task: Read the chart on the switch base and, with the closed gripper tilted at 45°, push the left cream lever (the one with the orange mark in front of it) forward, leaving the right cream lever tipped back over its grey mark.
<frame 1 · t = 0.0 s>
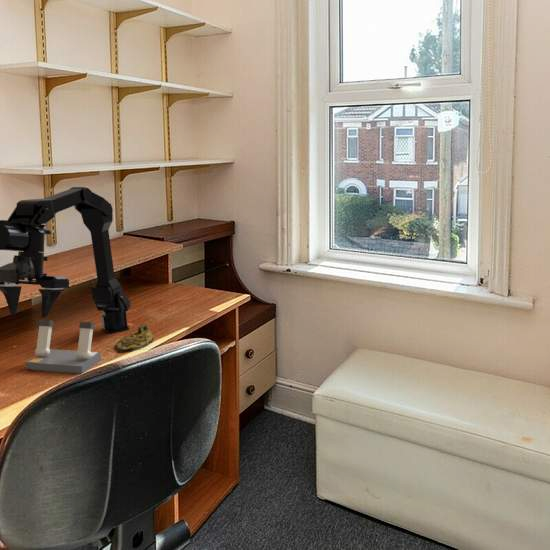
hand: (28, 316, 135), 15 cm above the table, tool pointing down, fingers open, 9 cm apart
switch base: (64, 364, 145), on the table
left lever: (44, 337, 146), point 7 cm above the table, hinge at -24.0°
right lever: (85, 340, 144), point 7 cm above the table, hinge at -24.0°
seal: (135, 344, 159), on the table
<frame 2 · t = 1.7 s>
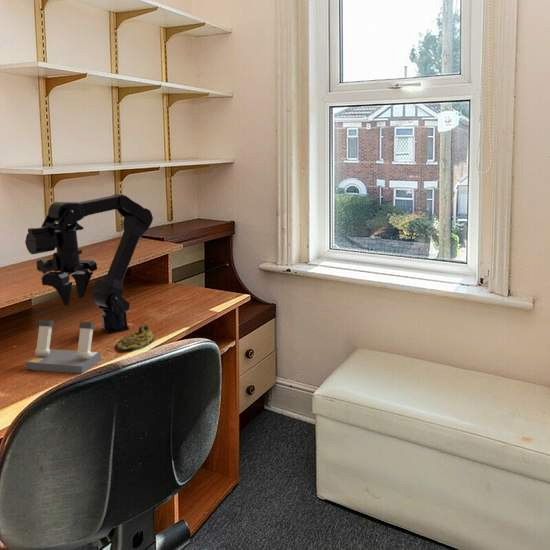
hand: (74, 301, 159), 12 cm above the table, tool pointing down, fingers open, 7 cm apart
nothing on the table moved.
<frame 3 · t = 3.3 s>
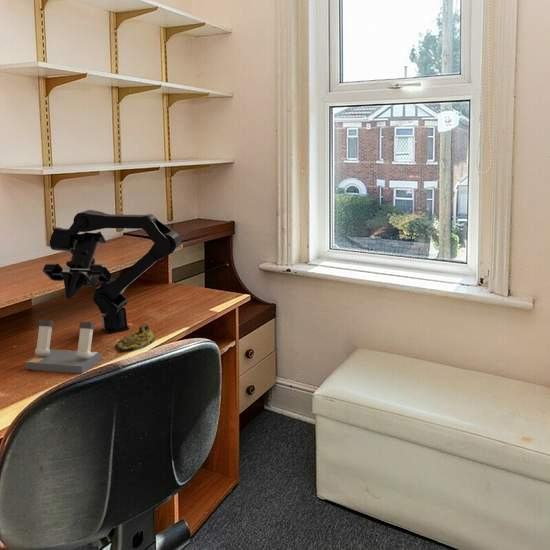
hand: (68, 298, 156), 14 cm above the table, tool tilted 45°, fingers closed
nothing on the table moved.
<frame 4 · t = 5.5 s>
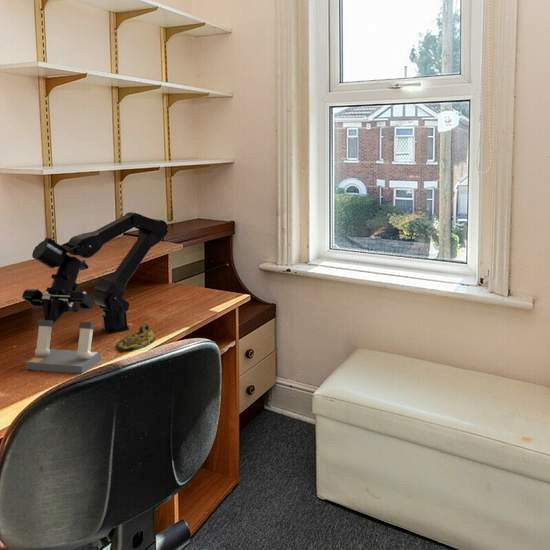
hand: (47, 327, 148), 9 cm above the table, tool tilted 45°, fingers closed, pressing on left lever
left lever: (44, 337, 146), point 7 cm above the table, hinge at -22.9°, touching gripper
everything else where it was.
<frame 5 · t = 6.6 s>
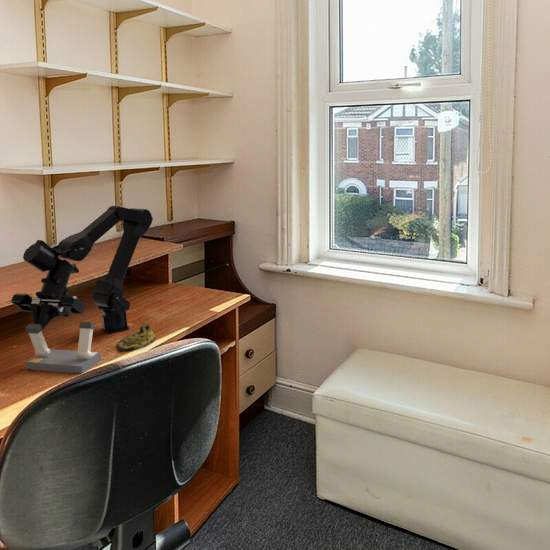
hand: (36, 333, 144), 9 cm above the table, tool tilted 45°, fingers closed, pressing on left lever
left lever: (38, 340, 144), point 7 cm above the table, hinge at 16.5°, touching gripper
everything else where it was.
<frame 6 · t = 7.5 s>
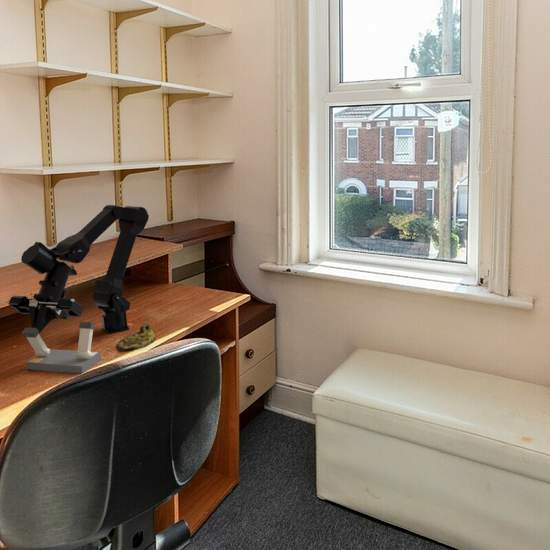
hand: (34, 335, 143), 8 cm above the table, tool tilted 45°, fingers closed, pressing on left lever
left lever: (36, 342, 143), point 6 cm above the table, hinge at 27.8°, touching gripper
everything else where it was.
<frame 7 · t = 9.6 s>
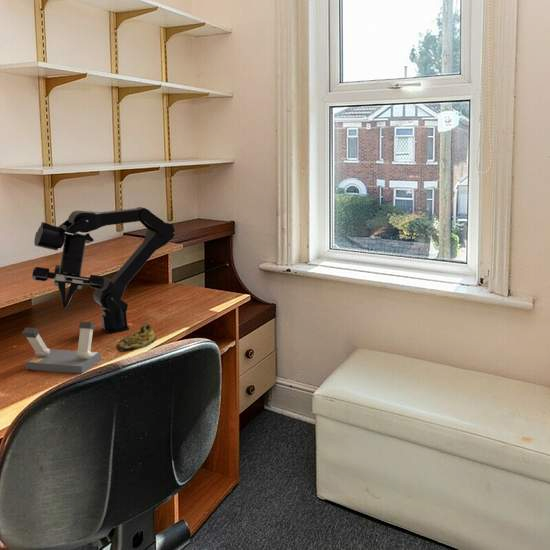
hand: (64, 308, 155), 11 cm above the table, tool tilted 30°, fingers closed
left lever: (36, 342, 143), point 6 cm above the table, hinge at 27.9°
everything else where it was.
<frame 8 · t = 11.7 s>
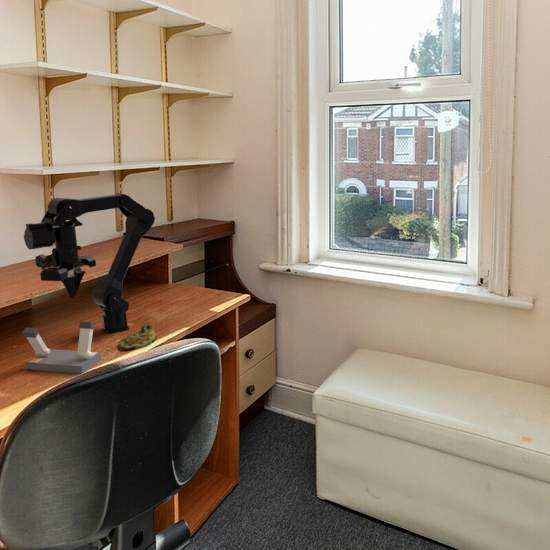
hand: (72, 297, 159), 13 cm above the table, tool pointing down, fingers closed
at the end: left lever at +28° (first picture: -24°); right lever at -24° (first picture: -24°) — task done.
